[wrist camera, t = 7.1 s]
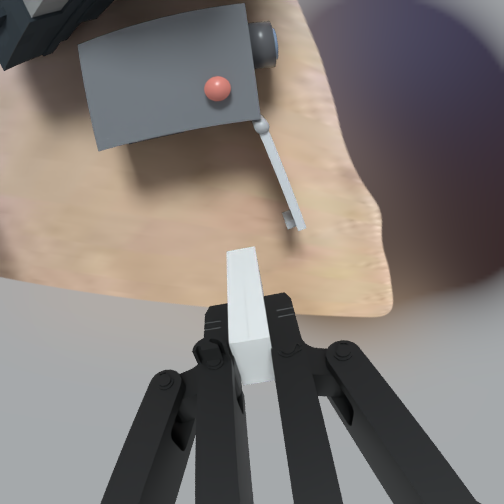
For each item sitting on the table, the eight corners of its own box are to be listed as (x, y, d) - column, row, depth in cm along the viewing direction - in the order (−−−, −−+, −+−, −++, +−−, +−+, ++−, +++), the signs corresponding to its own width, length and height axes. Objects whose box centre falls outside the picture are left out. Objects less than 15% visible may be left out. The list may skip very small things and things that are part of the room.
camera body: (123, 138, 31) (95, 156, 24) (107, 49, 25) (73, 44, 19) (278, 110, 30) (291, 120, 23) (265, 16, 25) (275, -2, 18)
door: (242, 117, 30) (244, 126, 25) (259, 110, 30) (265, 117, 24) (282, 211, 36) (291, 239, 30) (298, 205, 35) (310, 231, 30)
